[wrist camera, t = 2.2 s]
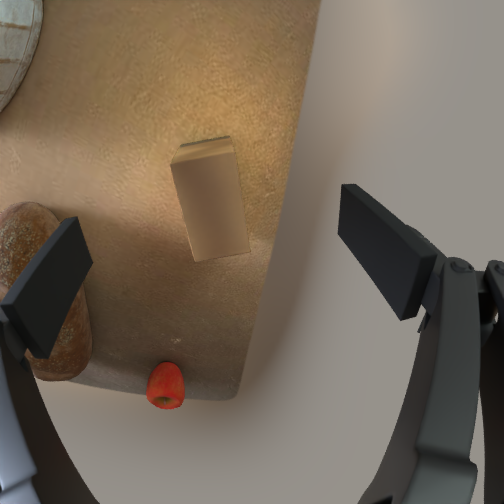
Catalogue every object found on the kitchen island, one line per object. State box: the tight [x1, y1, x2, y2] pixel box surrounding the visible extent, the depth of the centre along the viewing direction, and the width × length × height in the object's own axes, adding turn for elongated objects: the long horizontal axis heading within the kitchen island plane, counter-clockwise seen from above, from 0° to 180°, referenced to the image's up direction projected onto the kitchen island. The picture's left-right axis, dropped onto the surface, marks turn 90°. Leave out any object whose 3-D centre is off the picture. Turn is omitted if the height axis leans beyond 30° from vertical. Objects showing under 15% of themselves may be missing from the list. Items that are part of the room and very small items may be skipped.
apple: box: [146, 362, 185, 409], centre depth 42 cm, size 6×6×8 cm
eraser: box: [170, 136, 251, 262], centre depth 26 cm, size 5×9×8 cm, turn 7°
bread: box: [0, 202, 93, 381], centre depth 29 cm, size 16×29×11 cm, turn 167°
